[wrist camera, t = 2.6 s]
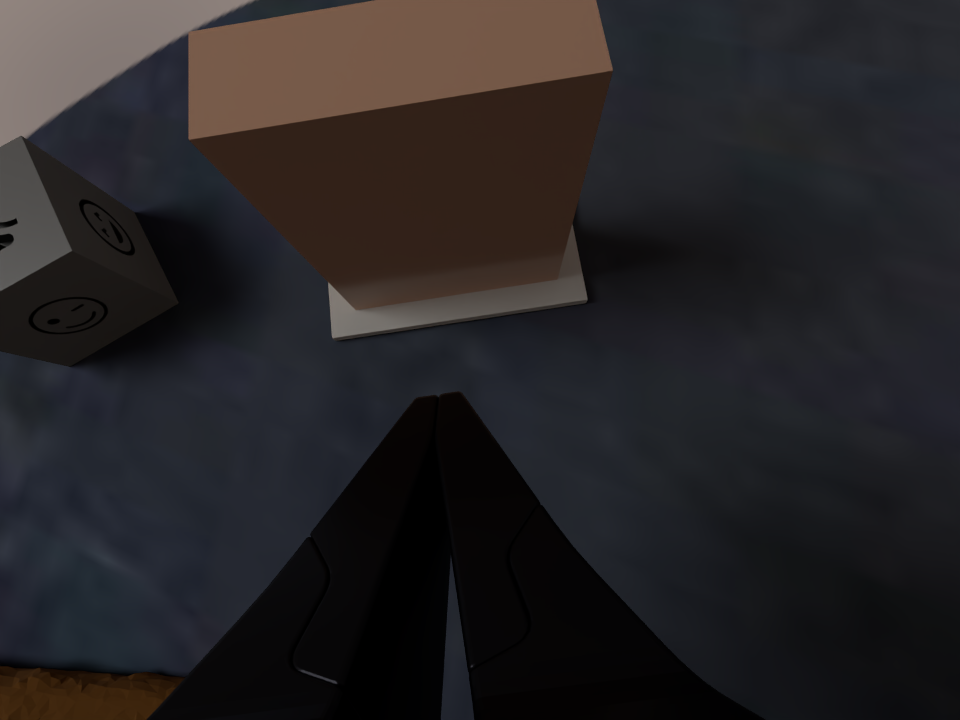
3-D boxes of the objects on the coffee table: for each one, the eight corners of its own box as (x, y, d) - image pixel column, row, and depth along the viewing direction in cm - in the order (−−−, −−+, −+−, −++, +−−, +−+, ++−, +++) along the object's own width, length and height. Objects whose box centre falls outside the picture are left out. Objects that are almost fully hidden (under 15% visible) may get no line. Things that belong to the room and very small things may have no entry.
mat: (586, 303, 19) (587, 299, 18) (335, 340, 19) (332, 338, 18) (532, 34, 21) (532, 26, 21) (316, 69, 22) (312, 62, 21)
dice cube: (71, 367, 19) (-76, 334, 15) (31, 271, 20) (-118, 210, 16) (180, 303, 20) (71, 250, 15) (135, 213, 21) (21, 135, 16)
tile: (557, 279, 18) (612, 70, 9) (355, 310, 19) (188, 139, 9) (545, 217, 19) (585, -44, 9) (350, 247, 19) (188, 23, 10)
